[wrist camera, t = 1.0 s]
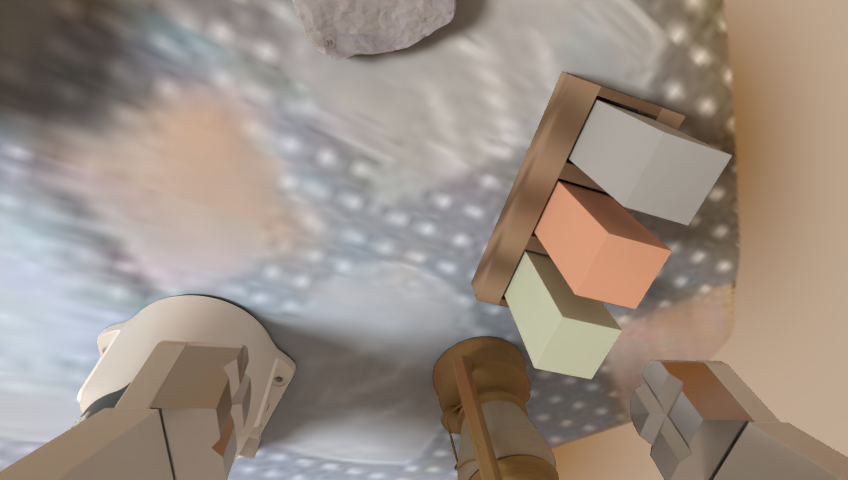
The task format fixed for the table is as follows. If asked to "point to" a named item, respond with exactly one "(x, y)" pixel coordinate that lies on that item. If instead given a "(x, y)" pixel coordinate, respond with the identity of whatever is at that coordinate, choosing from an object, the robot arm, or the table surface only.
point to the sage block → (558, 319)
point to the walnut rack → (548, 178)
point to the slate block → (646, 162)
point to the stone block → (370, 24)
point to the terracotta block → (599, 246)
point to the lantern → (491, 412)
